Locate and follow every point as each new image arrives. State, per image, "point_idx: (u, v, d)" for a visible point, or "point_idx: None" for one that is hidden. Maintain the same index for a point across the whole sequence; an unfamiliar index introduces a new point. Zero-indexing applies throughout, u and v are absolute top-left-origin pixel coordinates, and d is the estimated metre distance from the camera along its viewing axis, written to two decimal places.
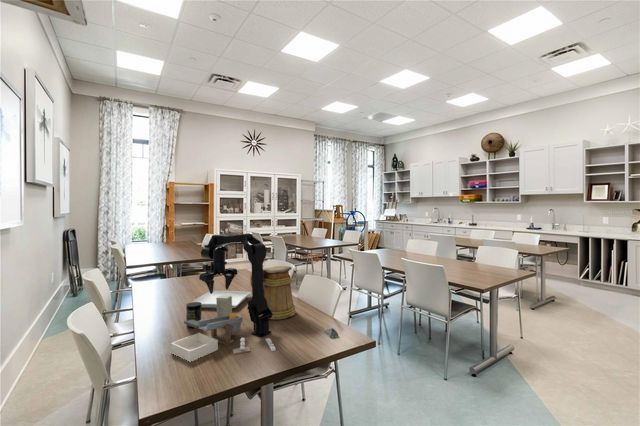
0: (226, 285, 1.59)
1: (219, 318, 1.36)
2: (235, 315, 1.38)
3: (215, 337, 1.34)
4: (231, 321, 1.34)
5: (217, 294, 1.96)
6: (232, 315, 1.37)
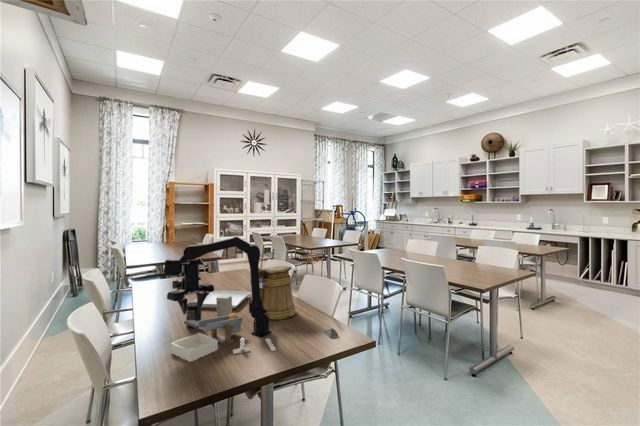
0: (198, 305, 1.35)
1: (219, 318, 1.36)
2: (235, 315, 1.38)
3: (215, 337, 1.34)
4: (231, 321, 1.34)
5: (217, 294, 1.96)
6: (232, 315, 1.37)
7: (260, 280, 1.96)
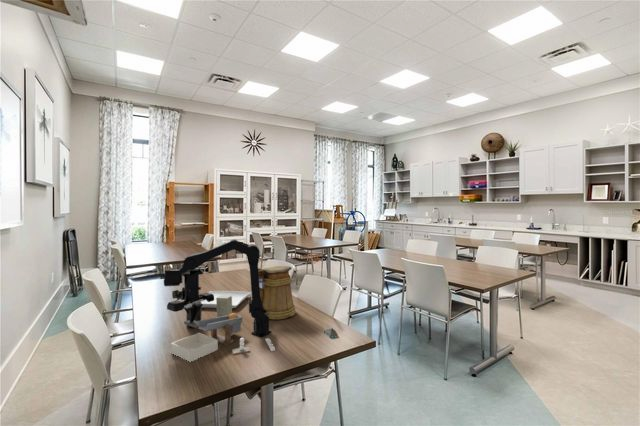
0: None
1: (219, 318, 1.36)
2: (235, 315, 1.38)
3: (215, 337, 1.34)
4: (231, 321, 1.34)
5: (217, 294, 1.96)
6: (232, 315, 1.37)
7: (260, 280, 1.96)
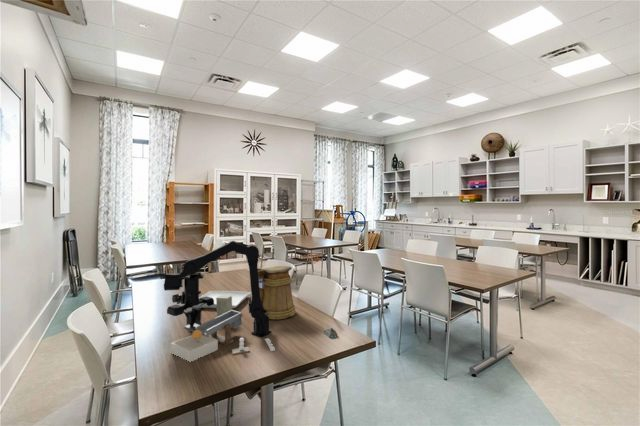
0: None
1: (218, 318, 1.35)
2: (200, 336, 1.24)
3: (215, 337, 1.34)
4: (230, 320, 1.33)
5: (217, 294, 1.96)
6: None
7: (260, 280, 1.96)
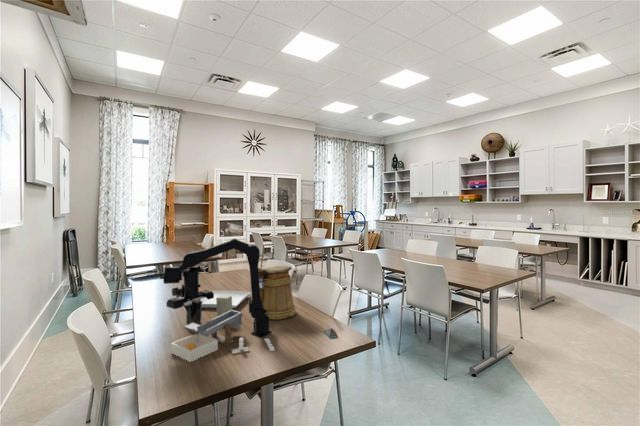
0: None
1: (218, 318, 1.35)
2: (193, 345, 1.21)
3: (215, 337, 1.34)
4: (230, 320, 1.33)
5: (217, 294, 1.96)
6: (189, 345, 1.20)
7: (260, 280, 1.96)
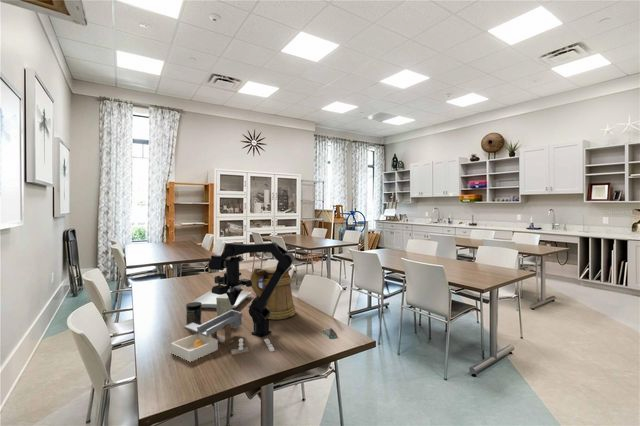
0: None
1: (218, 318, 1.35)
2: None
3: (215, 337, 1.34)
4: (230, 320, 1.33)
5: (217, 294, 1.96)
6: (202, 341, 1.25)
7: (260, 280, 1.96)
